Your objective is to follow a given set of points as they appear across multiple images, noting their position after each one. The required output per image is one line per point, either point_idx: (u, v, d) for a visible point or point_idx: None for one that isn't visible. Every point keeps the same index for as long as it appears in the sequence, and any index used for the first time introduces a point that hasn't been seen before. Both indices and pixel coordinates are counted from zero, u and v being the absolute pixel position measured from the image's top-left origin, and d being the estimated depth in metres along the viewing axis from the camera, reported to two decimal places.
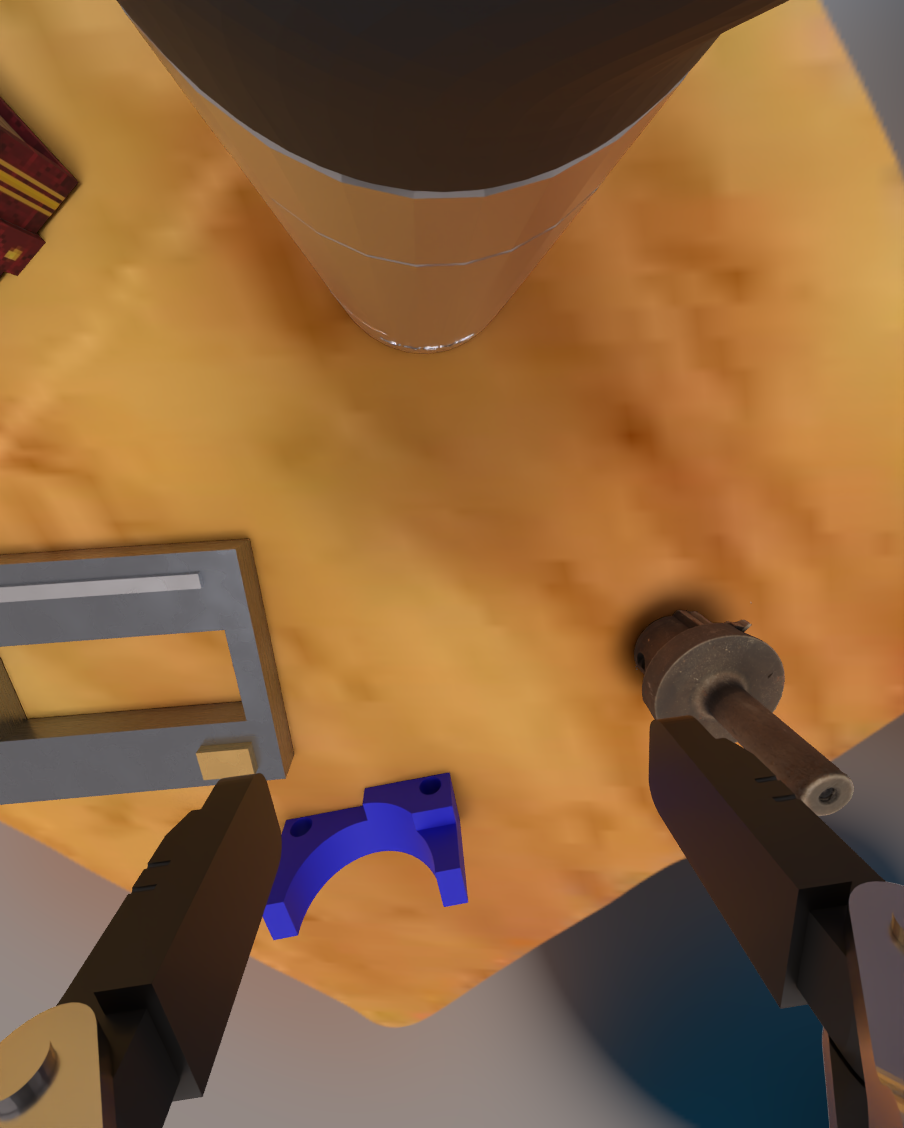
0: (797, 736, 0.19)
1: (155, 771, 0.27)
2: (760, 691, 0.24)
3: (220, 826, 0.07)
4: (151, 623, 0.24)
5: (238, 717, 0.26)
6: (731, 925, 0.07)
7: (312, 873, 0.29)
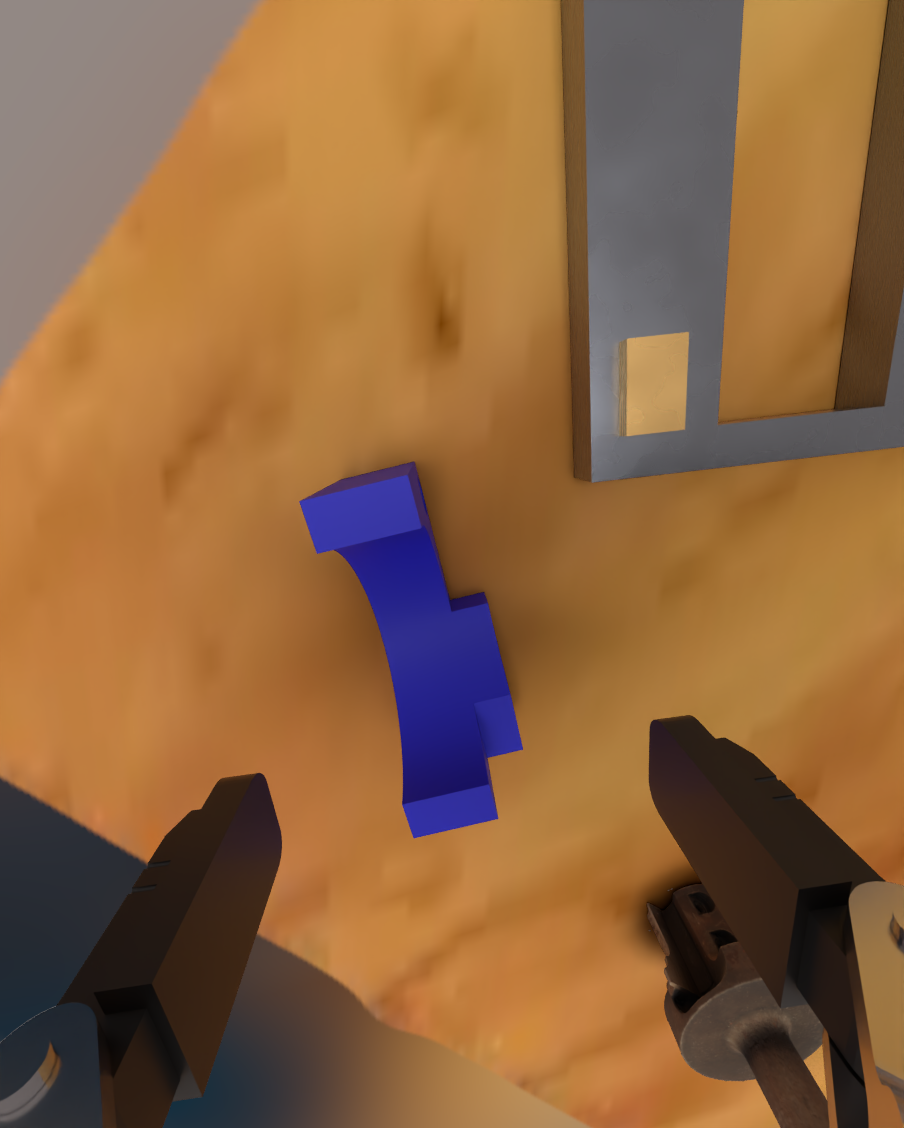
0: None
1: (633, 234, 0.14)
2: None
3: (220, 826, 0.07)
4: None
5: None
6: (732, 925, 0.07)
7: (390, 544, 0.15)
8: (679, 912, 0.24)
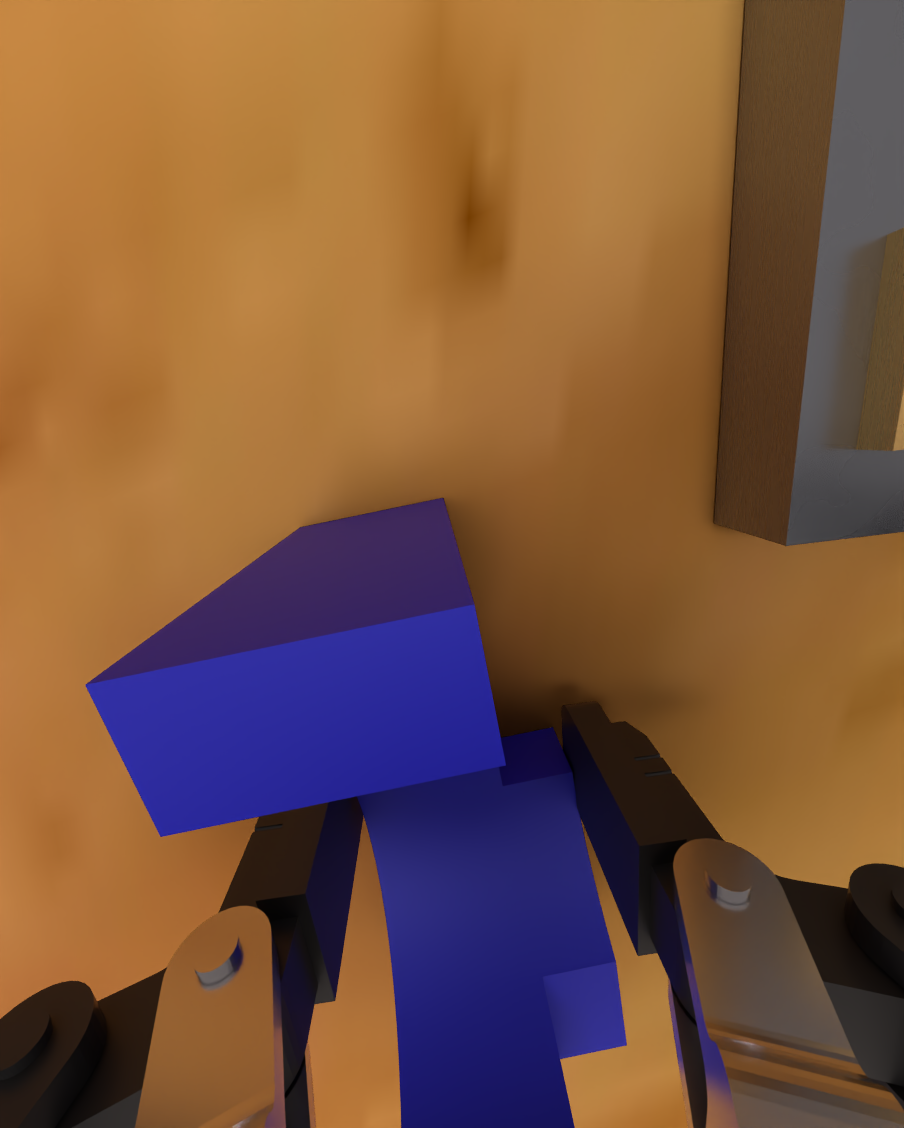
0: None
1: None
2: None
3: None
4: None
5: None
6: (611, 886, 0.08)
7: None
8: None
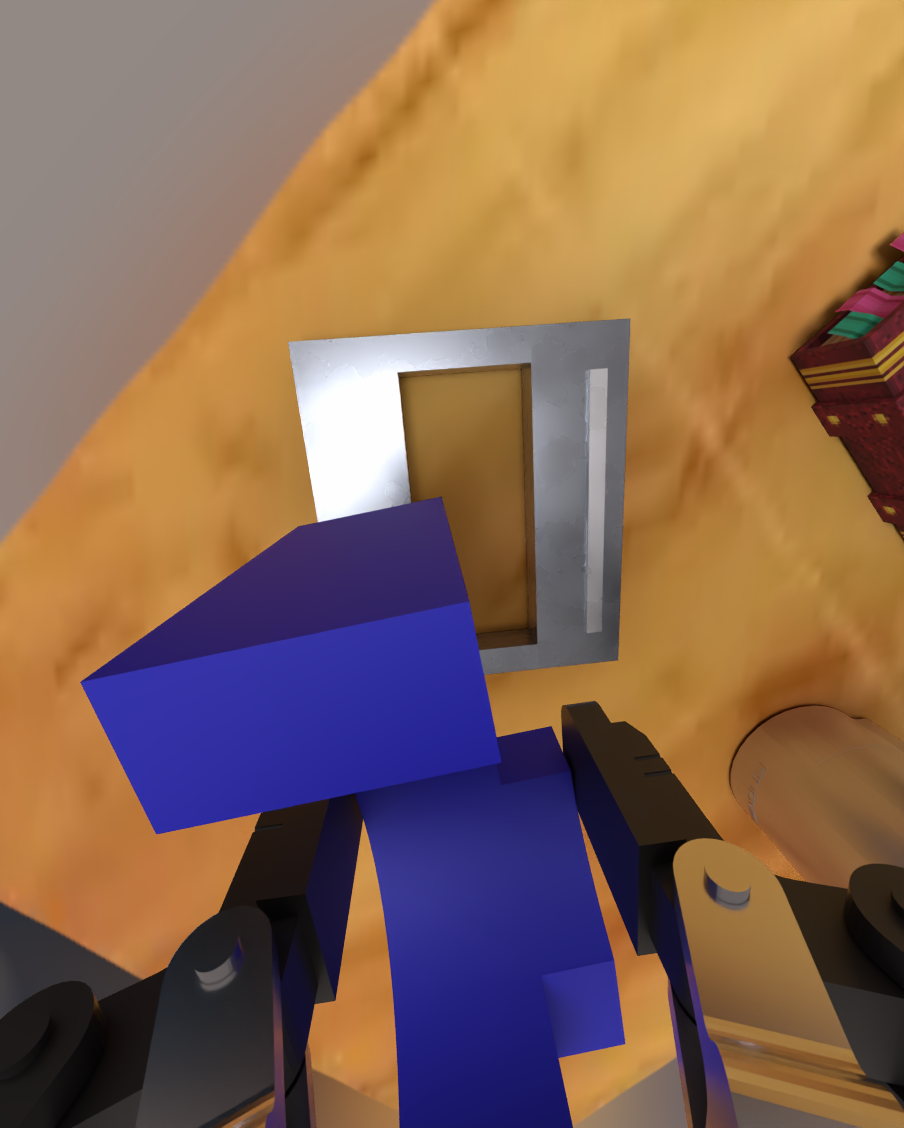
0: None
1: None
2: None
3: None
4: (549, 578, 0.23)
5: None
6: (611, 887, 0.08)
7: None
8: None
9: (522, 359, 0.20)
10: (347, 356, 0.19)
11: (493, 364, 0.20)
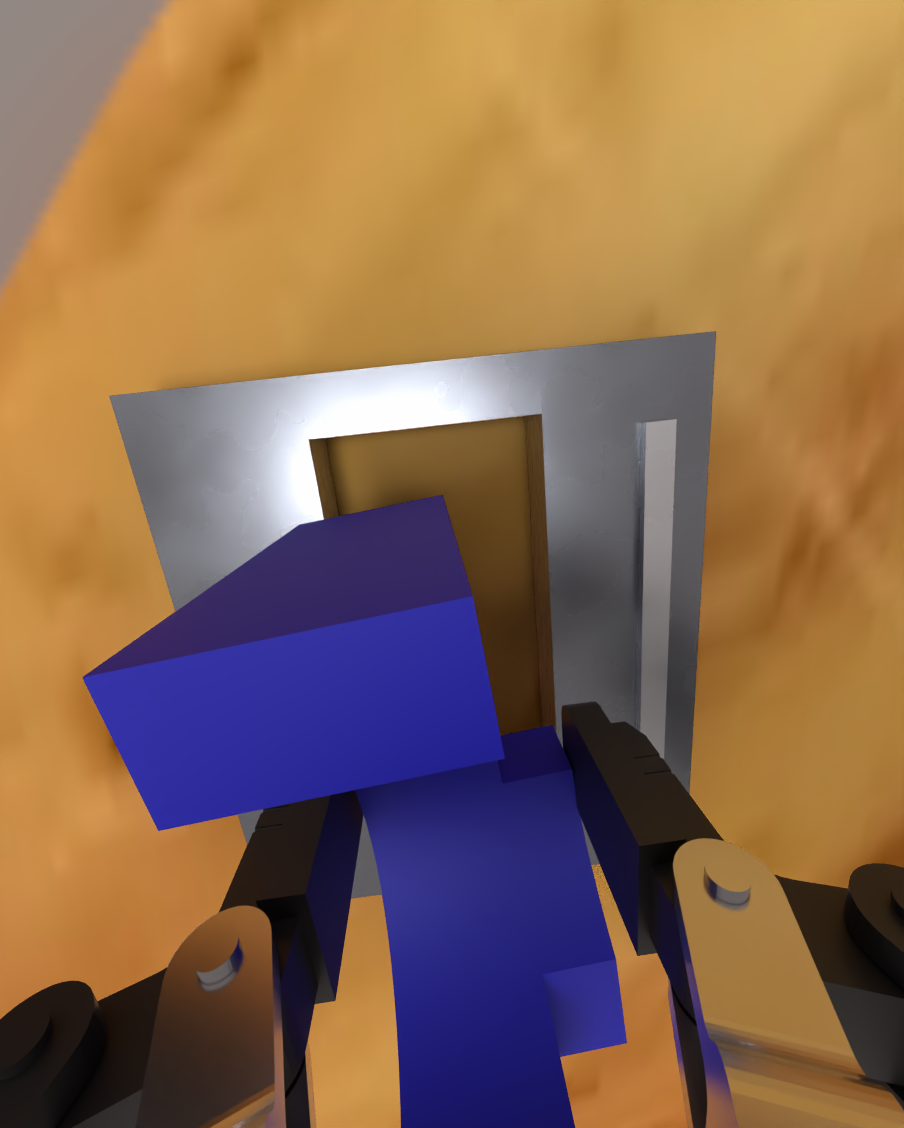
0: None
1: None
2: None
3: None
4: None
5: None
6: (610, 887, 0.08)
7: None
8: None
9: (526, 409, 0.11)
10: (217, 416, 0.11)
11: (475, 419, 0.11)
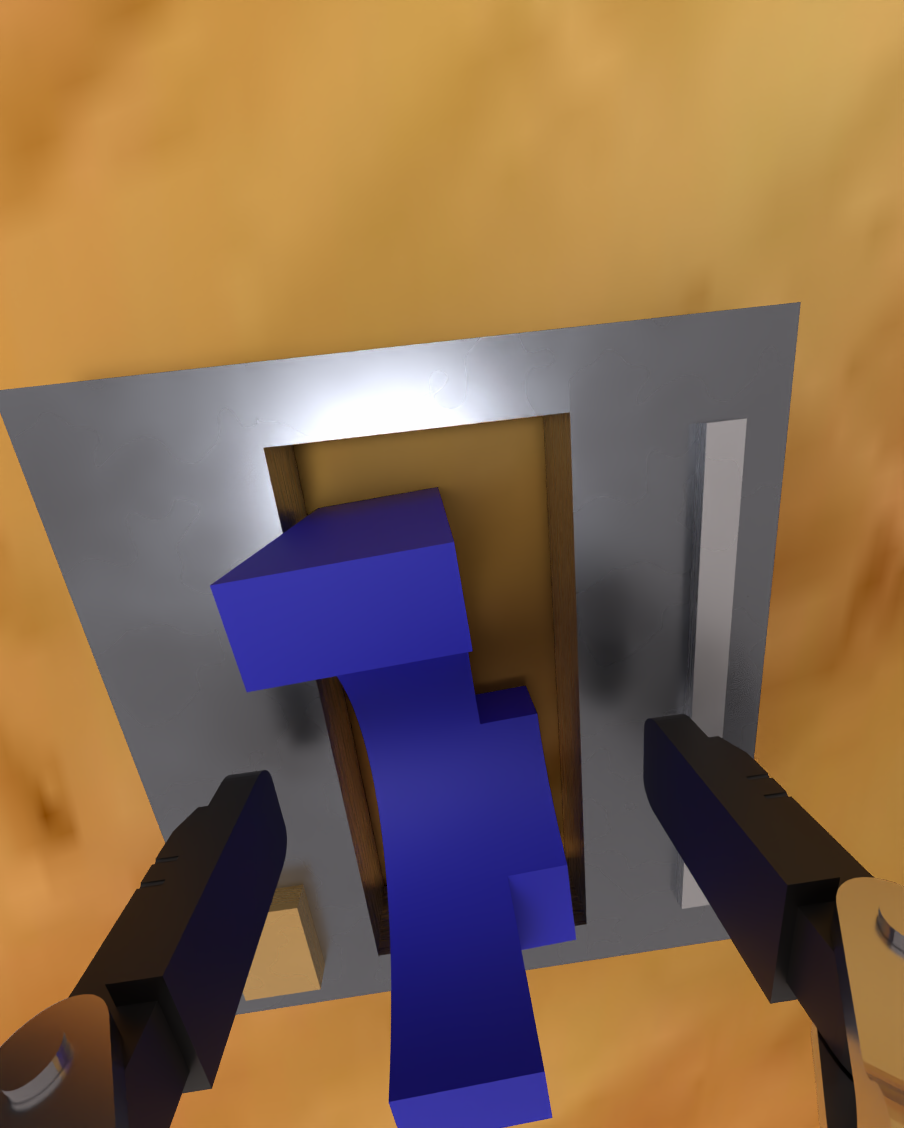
0: None
1: None
2: None
3: (227, 822, 0.07)
4: (609, 820, 0.12)
5: (376, 925, 0.13)
6: (723, 921, 0.07)
7: None
8: None
9: (549, 406, 0.09)
10: (140, 417, 0.08)
11: (483, 420, 0.09)
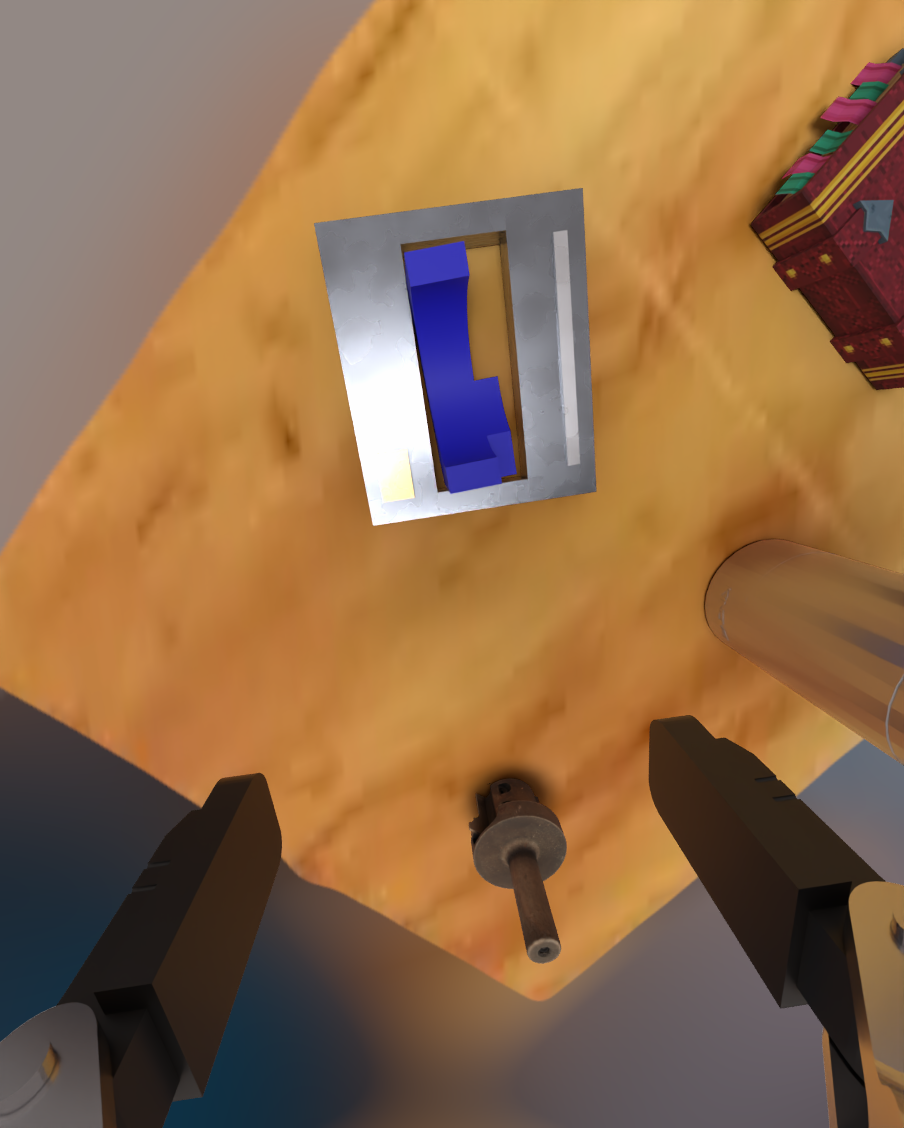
0: None
1: (373, 402, 0.27)
2: None
3: (220, 826, 0.07)
4: (533, 418, 0.28)
5: (435, 482, 0.29)
6: (731, 925, 0.07)
7: (443, 311, 0.25)
8: (491, 795, 0.37)
9: (498, 228, 0.25)
10: (360, 232, 0.25)
11: (475, 233, 0.25)
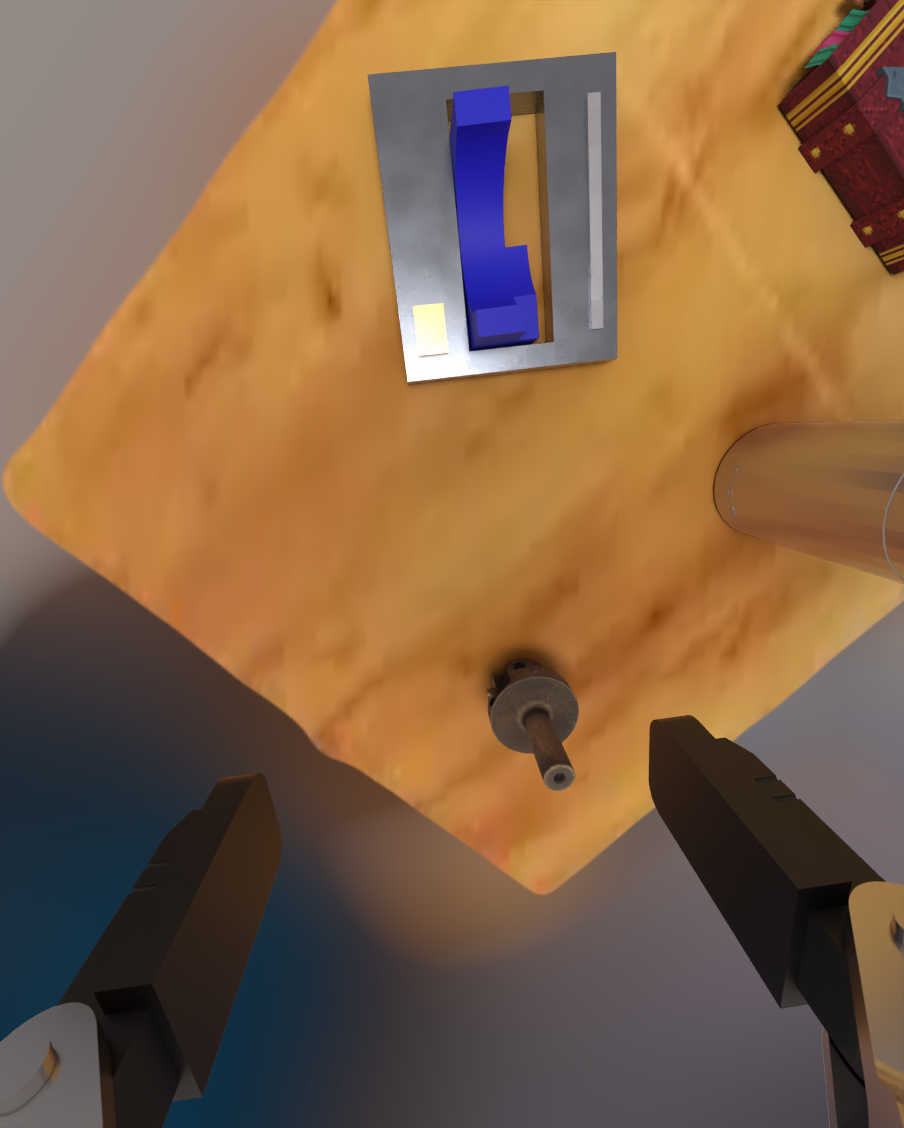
0: None
1: (413, 256, 0.29)
2: None
3: (220, 826, 0.07)
4: (561, 281, 0.30)
5: (467, 342, 0.31)
6: (732, 925, 0.07)
7: (482, 166, 0.27)
8: (507, 673, 0.39)
9: (537, 88, 0.27)
10: (409, 86, 0.27)
11: (515, 92, 0.27)
